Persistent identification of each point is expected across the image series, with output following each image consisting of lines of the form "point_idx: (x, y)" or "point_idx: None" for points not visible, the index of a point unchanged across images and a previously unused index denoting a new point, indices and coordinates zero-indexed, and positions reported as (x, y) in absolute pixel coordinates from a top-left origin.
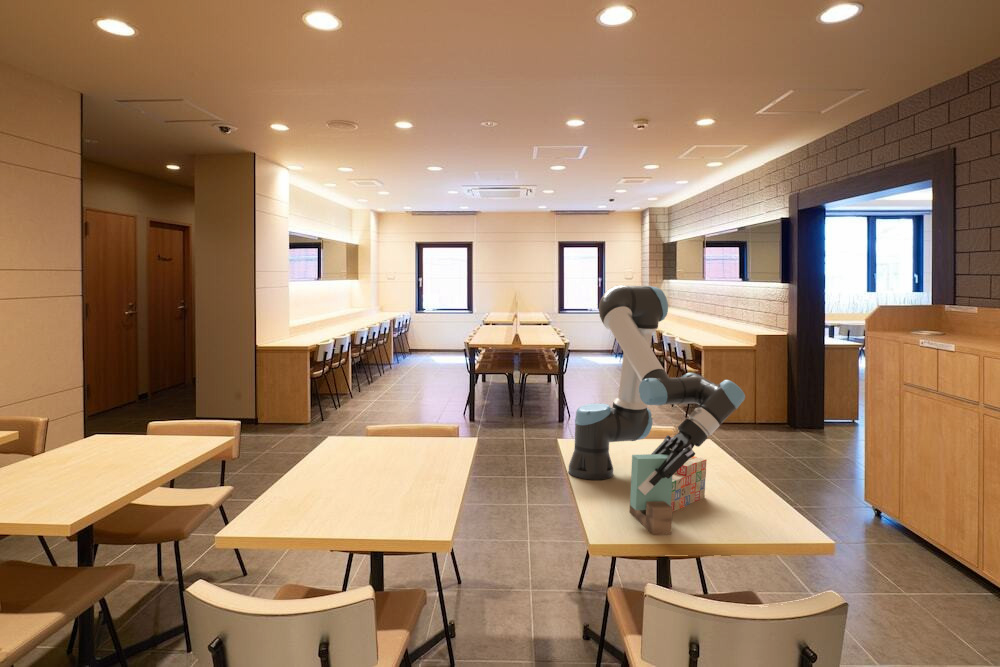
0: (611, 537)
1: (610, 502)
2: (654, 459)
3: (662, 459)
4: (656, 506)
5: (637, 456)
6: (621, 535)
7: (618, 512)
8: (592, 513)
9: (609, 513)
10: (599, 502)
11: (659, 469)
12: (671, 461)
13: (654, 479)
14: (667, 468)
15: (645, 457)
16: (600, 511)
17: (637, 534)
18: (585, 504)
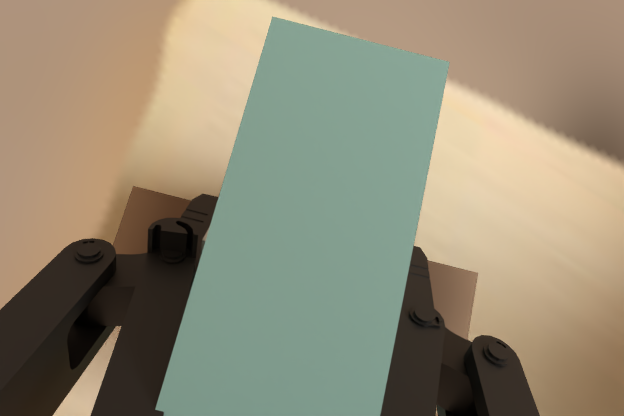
0: (221, 49)
1: (565, 271)
2: (212, 220)
3: (178, 333)
4: (156, 220)
5: (367, 75)
6: (221, 94)
7: (442, 230)
8: (463, 118)
9: (443, 185)
10: (577, 221)
11: (165, 261)
12: (11, 370)
13: (183, 216)
14: (34, 279)
15: (295, 138)
16: (475, 162)
17: (204, 159)
18: (567, 148)
